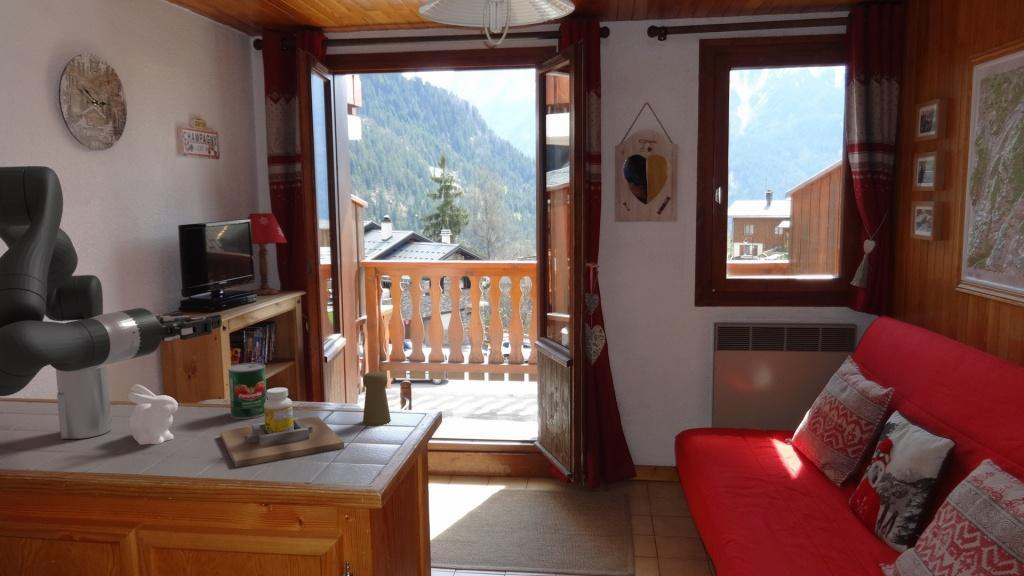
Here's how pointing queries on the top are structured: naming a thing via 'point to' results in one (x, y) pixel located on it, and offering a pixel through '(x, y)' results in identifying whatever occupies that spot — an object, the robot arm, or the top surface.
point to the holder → (279, 441)
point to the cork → (375, 399)
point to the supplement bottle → (278, 411)
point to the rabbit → (151, 416)
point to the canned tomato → (247, 390)
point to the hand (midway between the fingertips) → (200, 319)
